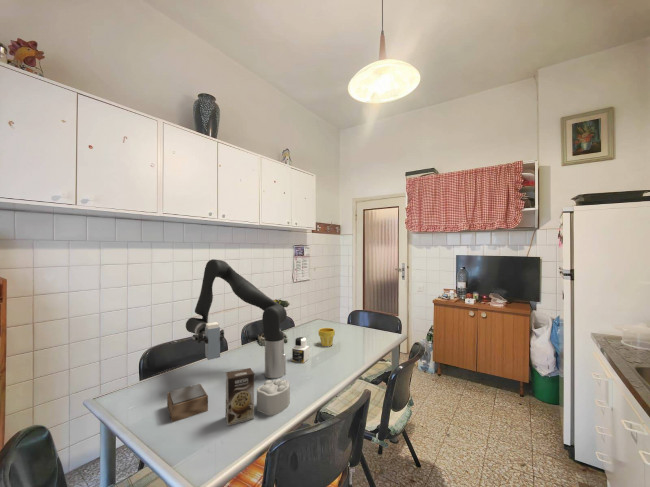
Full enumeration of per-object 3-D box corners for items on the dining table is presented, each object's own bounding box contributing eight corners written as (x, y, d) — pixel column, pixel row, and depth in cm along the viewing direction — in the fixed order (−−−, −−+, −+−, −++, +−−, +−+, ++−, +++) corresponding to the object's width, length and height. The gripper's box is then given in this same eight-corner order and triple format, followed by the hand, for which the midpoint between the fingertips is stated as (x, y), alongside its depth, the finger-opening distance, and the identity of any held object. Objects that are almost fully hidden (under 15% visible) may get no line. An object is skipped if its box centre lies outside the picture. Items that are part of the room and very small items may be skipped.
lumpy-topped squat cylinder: (253, 408, 107) (253, 385, 107) (278, 394, 117) (278, 373, 118) (271, 417, 101) (271, 393, 101) (296, 402, 111) (296, 380, 111)
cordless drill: (261, 347, 176) (261, 303, 177) (256, 338, 194) (256, 298, 195) (290, 343, 184) (289, 300, 185) (282, 335, 201) (282, 296, 202)
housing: (216, 354, 127) (216, 321, 127) (220, 357, 123) (219, 323, 123) (205, 356, 124) (205, 323, 124) (208, 360, 120) (207, 325, 120)
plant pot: (316, 343, 182) (316, 328, 183) (331, 341, 185) (331, 327, 186) (321, 348, 172) (321, 332, 173) (337, 346, 175) (336, 331, 176)
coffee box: (227, 426, 96) (228, 378, 96) (225, 416, 101) (225, 371, 102) (254, 419, 100) (254, 373, 100) (250, 410, 106) (250, 366, 106)
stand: (200, 397, 115) (200, 382, 115) (207, 410, 106) (207, 394, 106) (167, 407, 108) (167, 391, 108) (172, 422, 99) (172, 404, 99)
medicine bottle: (292, 361, 153) (292, 339, 153) (298, 356, 159) (298, 335, 160) (303, 363, 150) (303, 340, 150) (309, 358, 157) (309, 336, 157)
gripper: (188, 326, 131) (196, 334, 117) (219, 321, 139) (230, 328, 126) (188, 342, 131) (196, 352, 117) (219, 336, 139) (231, 345, 125)
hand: (214, 339), depth 121 cm, fingers closed on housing, 5 cm apart
